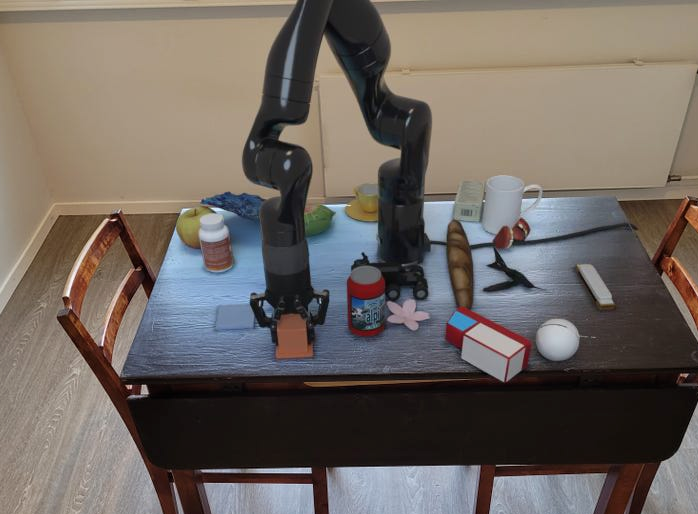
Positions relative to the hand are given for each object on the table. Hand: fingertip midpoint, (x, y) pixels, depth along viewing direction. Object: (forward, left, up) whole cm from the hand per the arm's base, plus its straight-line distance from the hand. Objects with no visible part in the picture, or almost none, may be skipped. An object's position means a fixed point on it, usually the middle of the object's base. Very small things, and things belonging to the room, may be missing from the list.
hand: (294, 342), depth 125 cm
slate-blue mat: (+11, -10, -1) cm, 15 cm away
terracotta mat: (0, 0, -1) cm, 1 cm away
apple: (+20, -38, -1) cm, 43 cm away
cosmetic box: (-38, -42, +1) cm, 57 cm away
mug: (-48, -39, -1) cm, 62 cm away
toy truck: (-35, +3, +2) cm, 35 cm away
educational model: (+5, -48, +4) cm, 48 cm away
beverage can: (-13, -4, -1) cm, 14 cm away
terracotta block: (0, 0, 0) cm, 0 cm away
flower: (-21, -7, -1) cm, 22 cm away
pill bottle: (+16, -28, -1) cm, 33 cm away
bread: (-33, -23, -1) cm, 40 cm away
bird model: (-44, -24, 0) cm, 50 cm away
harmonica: (-59, -14, -1) cm, 60 cm away
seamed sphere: (-44, +10, +3) cm, 46 cm away
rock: (+11, -43, +10) cm, 45 cm away
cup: (-17, -50, -1) cm, 53 cm away
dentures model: (-43, -29, +1) cm, 52 cm away
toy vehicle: (-19, -17, -1) cm, 25 cm away
